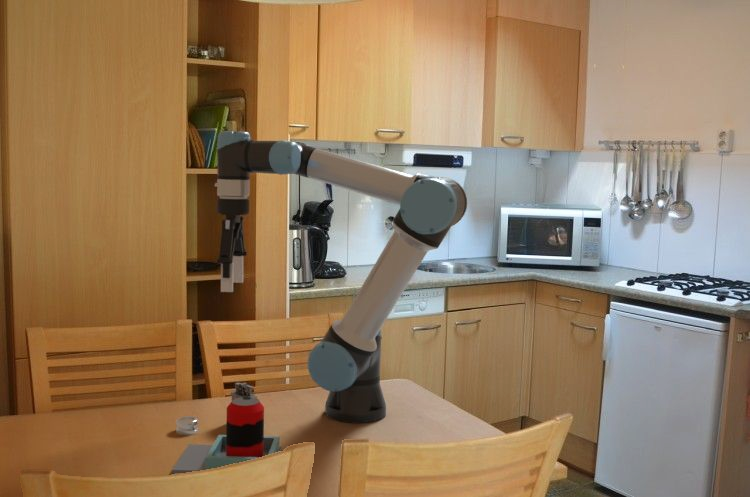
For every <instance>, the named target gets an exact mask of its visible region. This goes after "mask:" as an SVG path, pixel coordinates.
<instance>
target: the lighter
mask: <svg viewBox="0 0 750 497" xmlns="http://www.w3.org/2000/svg"><path fill="white" fill-rule="evenodd" d="M234 387H235V390H231V391H230V396H231V401H232V400H233V399H236V398H241V397H252V398H256V399H258V396H257V395H255V394H253V393H255V387H254V386H252V385H250V384H247V382H235V383H234Z"/></svg>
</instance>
